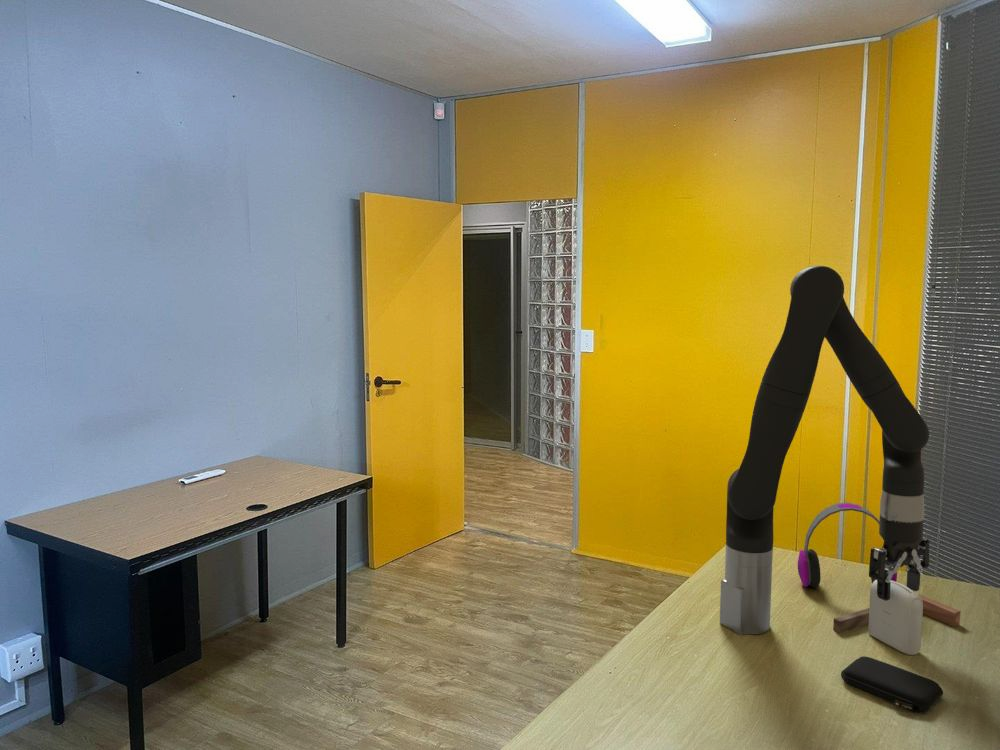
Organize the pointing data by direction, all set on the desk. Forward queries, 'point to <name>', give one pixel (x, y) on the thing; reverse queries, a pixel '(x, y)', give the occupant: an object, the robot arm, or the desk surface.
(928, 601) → the brown l-shaped block
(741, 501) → the robot arm
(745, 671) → the desk surface
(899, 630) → the photo printer
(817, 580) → the headphones
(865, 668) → the carrying case or bag
